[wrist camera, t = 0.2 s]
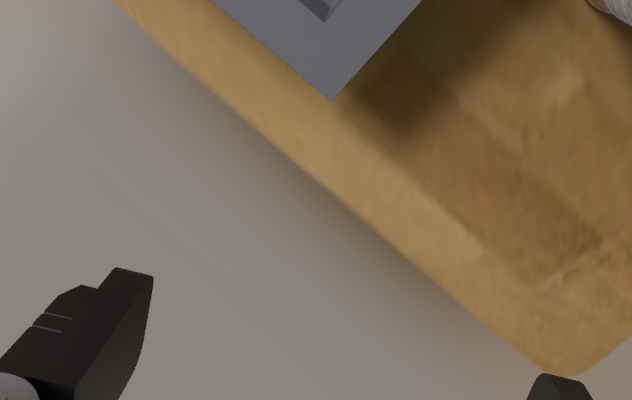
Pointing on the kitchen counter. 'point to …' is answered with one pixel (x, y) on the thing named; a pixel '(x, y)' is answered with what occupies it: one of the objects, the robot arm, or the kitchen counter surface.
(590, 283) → the kitchen counter surface
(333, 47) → the tray
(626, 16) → the sprinkles bottle
